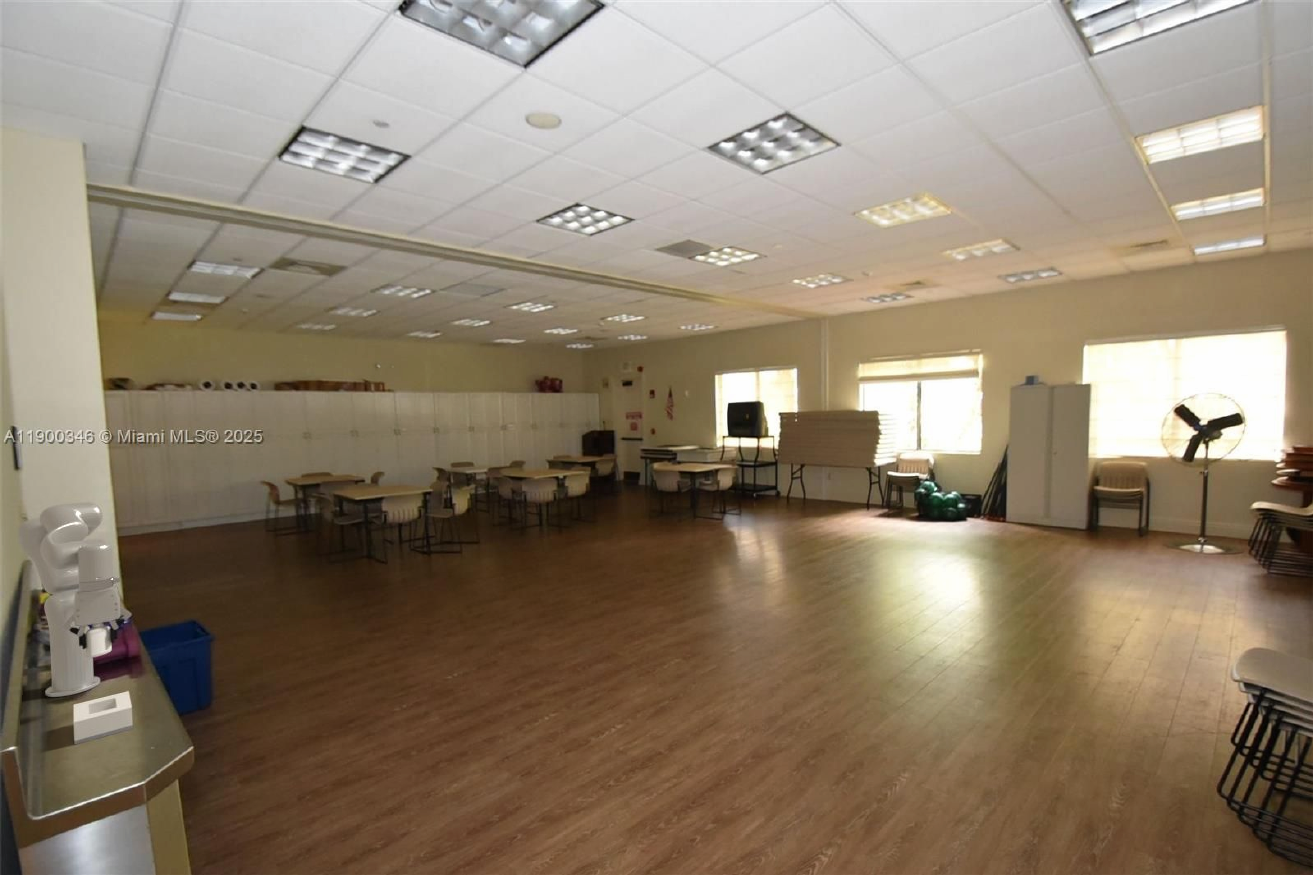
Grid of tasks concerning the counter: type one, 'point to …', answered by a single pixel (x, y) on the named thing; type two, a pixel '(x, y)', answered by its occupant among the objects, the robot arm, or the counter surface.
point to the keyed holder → (102, 717)
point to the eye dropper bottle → (98, 640)
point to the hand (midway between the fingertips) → (98, 644)
